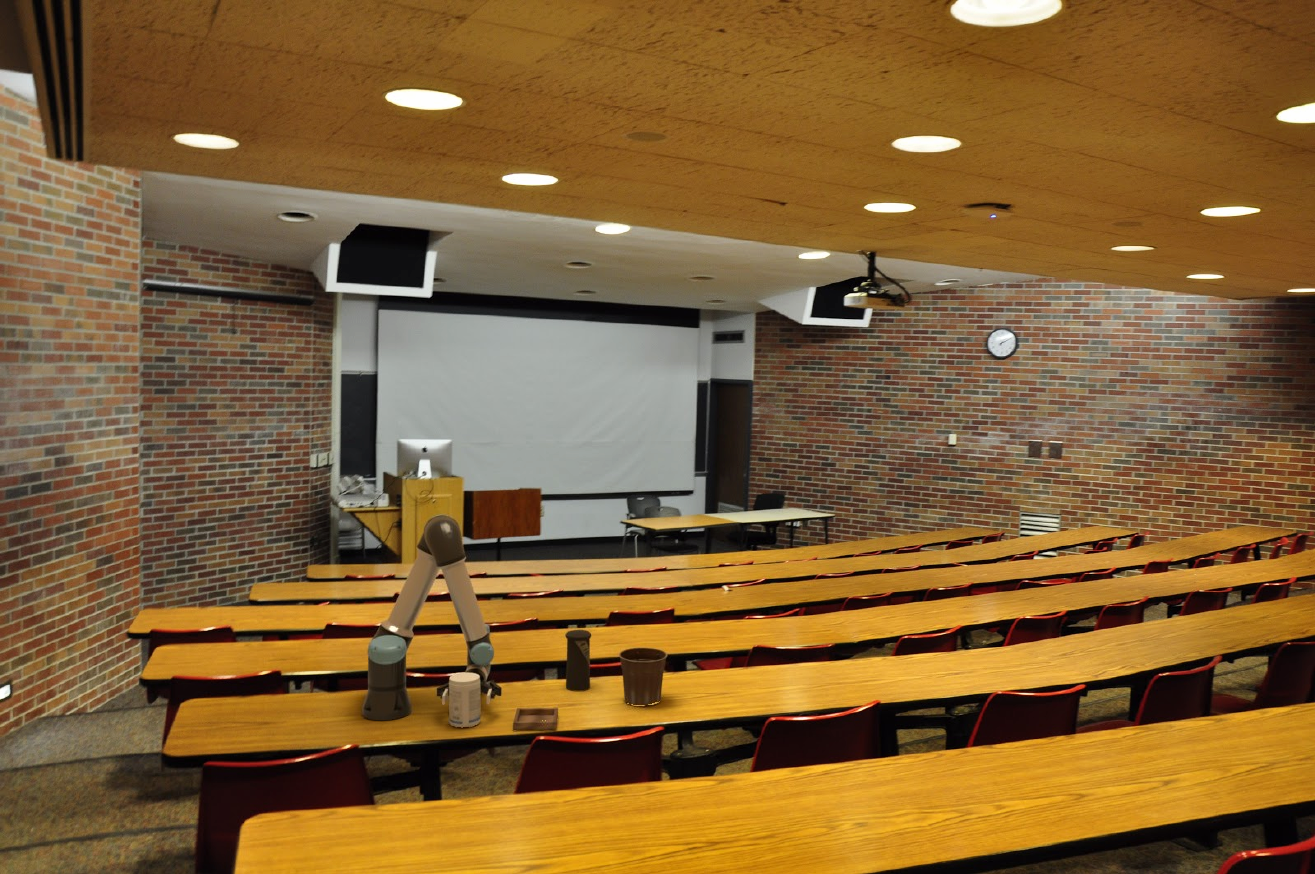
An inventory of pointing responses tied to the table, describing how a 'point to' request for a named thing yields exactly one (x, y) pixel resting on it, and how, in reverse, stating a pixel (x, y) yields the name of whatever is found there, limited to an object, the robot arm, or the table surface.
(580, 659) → the container
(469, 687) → the supplement tub
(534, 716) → the holder tray
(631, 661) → the plant pot
